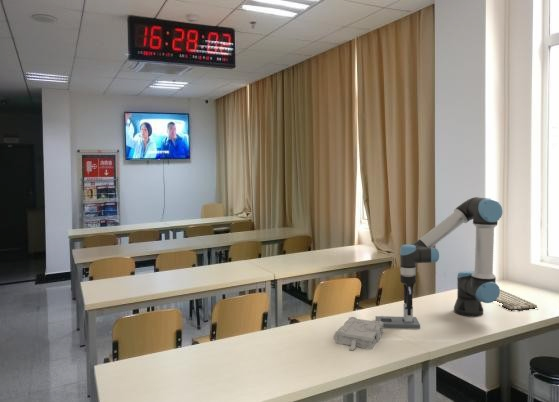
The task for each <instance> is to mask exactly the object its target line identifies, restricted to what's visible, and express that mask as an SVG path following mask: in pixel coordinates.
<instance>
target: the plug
mask: <svg viewBox="0 0 559 402" xmlns="http://www.w3.org/2000/svg"><path fill="white" fill-rule="evenodd" d="M406 307H407V306H406V303H405V304H403V317H404V322H413V317H414V316H413V315H414V308H412V321H406V309H405V308H406ZM412 307H414V306H413V305H412Z"/></svg>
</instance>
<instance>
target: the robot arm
mask: <svg viewBox="0 0 559 402" xmlns="http://www.w3.org/2000/svg"><path fill="white" fill-rule="evenodd" d="M503 212H504V211H503V206H502V205H501V203H500V202H499V201H498V200H496V199H494V198H490V197H477V196H474V197H471V198H468V199H467V200H465V201H463V202H462V203H461V204H460V205H458V206H457V207H456V208H454V210H453V213H451V214H449V216H447V217H446V218H444V220H442V221H441V222H440V223H438V224H437V225H435V226H434V227H433V228H432V229H430V230H429V231H428V232H427V233H426V234H424V235H423V236H421V237H420V238H419V239H418V240H416V241H415V242H410V243H409V244H402V245H401V246H400V249H399V254H400V268H399V271H400V275H399V276H400V283H401V284H403V303H404V304H405V303H406V306H407V307H406V308H405V309H406V321H412V308H413V307H414V306H413V293H414V289H413V286H412V284H413V285H414V284H416V283H417V281H416V279H417V277H416V274H417V273H416V272H417V269H416V268H417V267H416V266H417V264H426V263H427V264H429V263H431V264H433V263H438V262H439V260H440V259H439V258H440V252H439V249H437V247H434V246H436V245H437V244H439V242H441V241H443V239H445V238H446V237H448V235H450V234H451V233H452V232H454V231H455V230H456V229H458V228H459V227H460V226H461V225H462V224H467V223H468V222H469V221H470V222H471V221H472V224H473V225H474V227H475V248H474V250H475V251H474V252H475V253H474V271H473V270H469V271H468V270H467V271H466V270H465V271H458V273H457V276H456V277H457V279H456V280H457V281H456V282H457V286H456V287H457V295H456V297H457V299H456V301H455V303H454V307H453V313H455V314H456V315H459V316H464V317H472V318H473V317H481V316H483V315H484V307H483V304H482V303H485V304H491V303H493V301H495V300H496V299H497V298H498V296H499V294H500V290H501V289H500V286H499V285H498V284H497V283H496V282H497V281H496V278H497V276H496V275H495V274H494V273H493V271H494V244H495V243H494V242H495V241H494V240H495V239H494V238H495V228H496V227H497V226H498V224H499V223H498V222H499V220H500V219H501V218H502V216H503ZM404 304H403V305H404ZM412 306H413V307H412ZM413 309H414V308H413Z"/></svg>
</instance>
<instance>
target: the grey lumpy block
mask: <svg viewBox="0 0 559 402" xmlns="http://www.w3.org/2000/svg"><path fill="white" fill-rule="evenodd" d="M383 324H384V322H381V321H376V320H368V319H362V318H357V317H356V316H355V317H354V316H351V317H349V318H348V319H347V320H346V321H345V322H344V324H343V325H342V326H340V327H339V328H338V329H337V330H336V331H335V332H334V334H333V339H334V341H335V343H336V344H338V345H346V346H350V347H349V348H348V349H349V350H350V351H354V350H355V348H356V347H359V348H362V349H367V350H373V349H374V347H375V346H376V344H377V343H379V342H380V340H381V336H382V335H383V333H384V329H385V328H384V327H383Z"/></svg>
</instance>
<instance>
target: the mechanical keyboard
mask: <svg viewBox="0 0 559 402" xmlns="http://www.w3.org/2000/svg"><path fill="white" fill-rule="evenodd" d="M495 301H497V302H499V303H502V304H503V305H502V307H504V308H506V309H508V310H511V311H510V312H513V311H512V310H519V311H518V312H524V311H523V310H525V311H530V310H529V309H535V308H538V305H537V304H536V303H533V302H532V301H529V300H526V299H524V298H523V297H522V298H521V297H520V296H516V295H515V294H512V293H509V292H507V291H505V290H503V289H500V294H499V296H498V298H497V299H496V300H495ZM502 307H501V308H502ZM504 308H503V309H504ZM506 309H505V310H506ZM508 310H507V311H508Z"/></svg>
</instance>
